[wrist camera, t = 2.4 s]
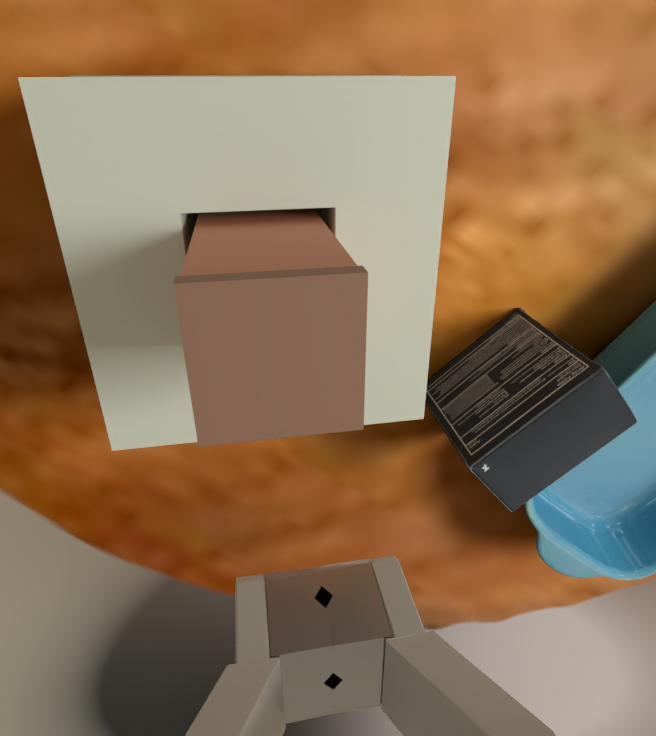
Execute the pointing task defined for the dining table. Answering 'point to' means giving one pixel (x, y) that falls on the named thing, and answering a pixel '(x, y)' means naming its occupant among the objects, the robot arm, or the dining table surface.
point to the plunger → (271, 327)
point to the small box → (525, 408)
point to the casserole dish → (609, 479)
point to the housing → (239, 194)
